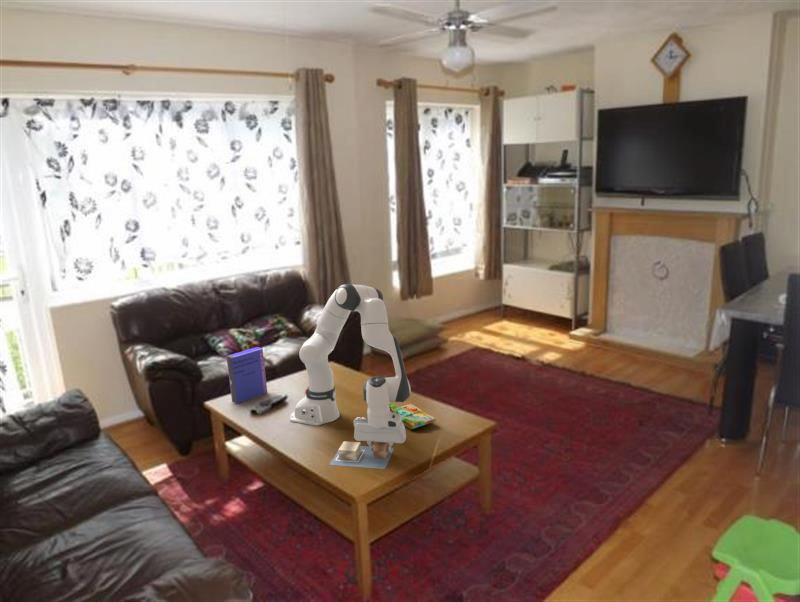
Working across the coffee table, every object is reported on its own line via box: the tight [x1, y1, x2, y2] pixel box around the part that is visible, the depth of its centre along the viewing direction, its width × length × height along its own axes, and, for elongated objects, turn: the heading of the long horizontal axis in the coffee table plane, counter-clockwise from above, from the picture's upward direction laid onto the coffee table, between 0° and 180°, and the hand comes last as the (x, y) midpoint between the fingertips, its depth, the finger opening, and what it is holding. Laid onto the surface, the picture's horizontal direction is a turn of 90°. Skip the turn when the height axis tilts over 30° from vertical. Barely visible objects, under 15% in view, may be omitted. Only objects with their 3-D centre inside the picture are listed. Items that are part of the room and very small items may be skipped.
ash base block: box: [337, 441, 362, 460], centre depth 224 cm, size 7×7×4 cm
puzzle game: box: [396, 403, 437, 430], centre depth 252 cm, size 12×5×20 cm
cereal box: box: [226, 346, 268, 404], centre depth 285 cm, size 17×5×24 cm, turn 136°
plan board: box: [328, 445, 395, 470], centre depth 223 cm, size 22×16×1 cm
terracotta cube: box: [372, 442, 389, 458], centre depth 223 cm, size 5×5×5 cm
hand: (380, 451), depth 223 cm, fingers closed on terracotta cube, 5 cm apart
